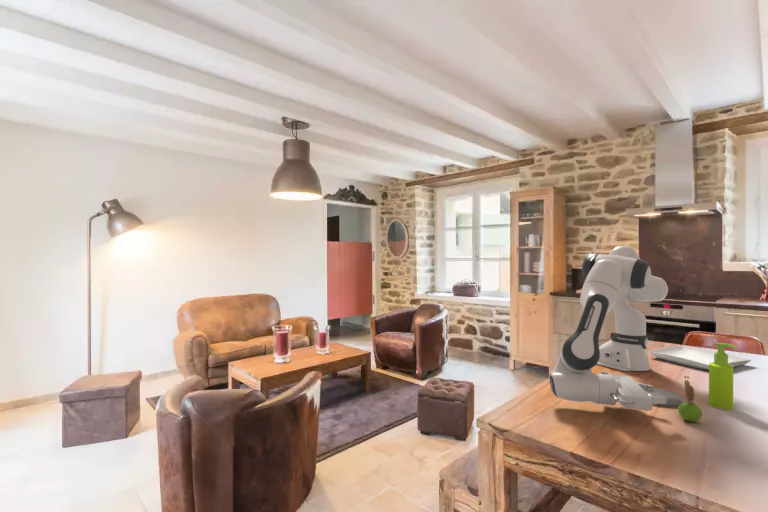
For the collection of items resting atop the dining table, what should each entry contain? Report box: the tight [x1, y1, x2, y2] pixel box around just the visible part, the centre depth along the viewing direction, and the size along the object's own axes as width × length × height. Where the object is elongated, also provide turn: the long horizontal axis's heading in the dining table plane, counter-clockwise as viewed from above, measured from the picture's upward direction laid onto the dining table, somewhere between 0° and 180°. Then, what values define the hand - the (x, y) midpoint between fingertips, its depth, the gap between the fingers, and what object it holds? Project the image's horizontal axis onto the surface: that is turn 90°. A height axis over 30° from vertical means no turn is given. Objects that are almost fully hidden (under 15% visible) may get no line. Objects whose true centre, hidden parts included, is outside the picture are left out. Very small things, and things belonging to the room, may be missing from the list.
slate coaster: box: [645, 387, 684, 408], centre depth 131 cm, size 14×14×2 cm
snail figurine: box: [677, 375, 703, 423], centre depth 114 cm, size 5×6×12 cm
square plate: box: [647, 345, 752, 371], centre depth 174 cm, size 27×27×4 cm
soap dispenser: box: [708, 342, 739, 411], centre depth 124 cm, size 6×7×20 cm
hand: (659, 394), depth 116 cm, fingers open, 8 cm apart
